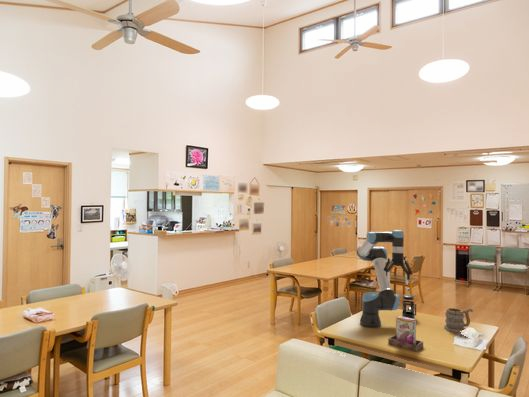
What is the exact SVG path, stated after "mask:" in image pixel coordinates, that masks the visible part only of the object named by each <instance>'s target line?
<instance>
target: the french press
mask: <svg viewBox="0 0 529 397" xmlns="http://www.w3.org/2000/svg"><path fill="white" fill-rule="evenodd" d="M405 289H406V290H407V291H408V292H407V293H408V294H402V298H403V300H402V313H401V314H402V315H401V316H402V317H407V318H412V319H416V318H415V317H416V316H417V304H416V303H415V302H414V301H413V300H414V299H415V295H412V294H410V293H409V292H410V290H412V288H410V287H406V288H405Z"/></svg>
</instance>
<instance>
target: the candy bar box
mask: <svg viewBox="0 0 529 397" xmlns="http://www.w3.org/2000/svg"><path fill="white" fill-rule="evenodd" d="M395 319H396V320H395V322H396V326H395V327H396V328H395V330H396V331H395V333H396V334H395V335H396V340H398V341H401V342H405V343H408V344H412V345H416V340H417V319H416V318H414V319H412V318H407V317H402V315H398V316H397V317H396V318H395Z"/></svg>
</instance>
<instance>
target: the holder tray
mask: <svg viewBox="0 0 529 397" xmlns="http://www.w3.org/2000/svg"><path fill="white" fill-rule="evenodd" d="M387 341H388V342H387V343H388V344H389V345H391V346H395V347H399V348H401V349H404V350H405V349H406V350H409V351H412V352H419V351H420V350H422V349H423V348H424V341H422V340H418V339H416V345H412V344H408V343H405V342H401V341H398V340H396V334H394V335H392V336H389V337H388V339H387Z"/></svg>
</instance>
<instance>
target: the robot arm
mask: <svg viewBox="0 0 529 397" xmlns="http://www.w3.org/2000/svg"><path fill="white" fill-rule="evenodd" d="M404 233H405V232H404V230H402V229H401V230H400V229H394V230H392V231H368V232H366V240H365V241H364V242H363V243H362V244H361V245H358V247H357V249H356V255H357V257H358V258H359V259H360V260H362V261H364V262H370V263H371V265H373V266H374V271H375V274H376V279H377V284H378V287H379V292H377V291H368V292H365V293H363V294H362V314H361V316H360V319H359V324H360V326H362V327H366V328H371V329H373V328H380V327H381V326H382V320H381V318H380V313H379V312H380V311H391V312H392V311H397V310H399V307H400V295H399V294H397V293H396V292H395V290H393V289H392V285H391V282H390V281H391V270H392V268H393V267H394V266H398V267H400V268H402V270H403V271H404V273H405V286H406V285H409V281H410V279H411V276H410V275H413V271H412V269H411V266H410V264H409V260H408V259H406V260H404V244H405V243H404V241H405V239H404V238H405V235H404ZM378 243H391V244H392V245H391V246H392V247H391V248H392V249H391V257H388V251H387V250H386V248H385V247H384V246H376V245H377V244H378Z"/></svg>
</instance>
